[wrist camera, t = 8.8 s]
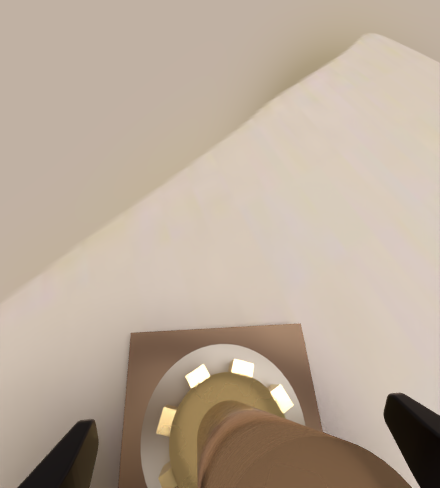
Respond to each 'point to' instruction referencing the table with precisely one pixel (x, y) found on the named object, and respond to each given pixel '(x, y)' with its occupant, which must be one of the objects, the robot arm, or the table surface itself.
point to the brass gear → (257, 441)
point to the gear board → (215, 361)
